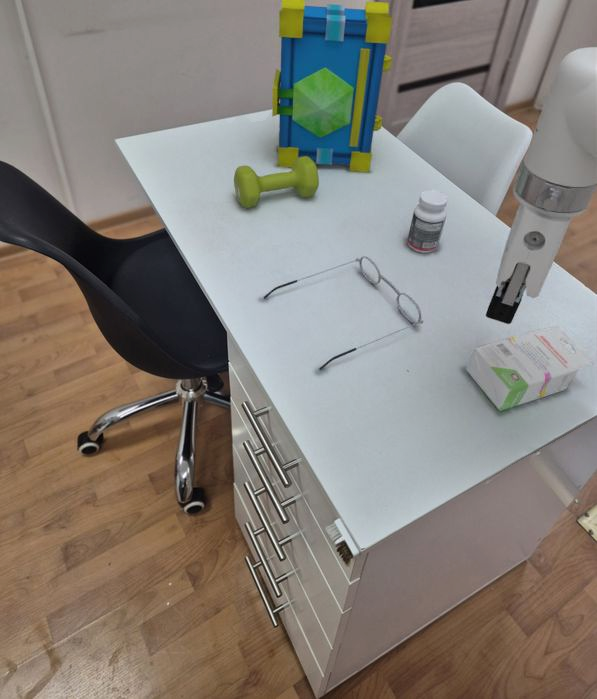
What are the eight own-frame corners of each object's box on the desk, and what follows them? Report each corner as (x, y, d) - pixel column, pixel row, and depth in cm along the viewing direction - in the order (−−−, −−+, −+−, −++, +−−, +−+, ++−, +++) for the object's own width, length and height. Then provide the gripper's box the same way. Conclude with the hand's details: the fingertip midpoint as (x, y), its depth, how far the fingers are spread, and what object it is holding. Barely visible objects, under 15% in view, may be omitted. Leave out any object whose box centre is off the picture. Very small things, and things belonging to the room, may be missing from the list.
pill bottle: (413, 232, 104) (425, 185, 97) (442, 242, 102) (455, 194, 95) (402, 247, 100) (412, 199, 93) (430, 257, 99) (444, 209, 91)
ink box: (499, 413, 74) (582, 387, 79) (511, 390, 71) (598, 363, 75) (463, 368, 80) (543, 346, 84) (473, 345, 76) (556, 322, 81)
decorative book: (275, 141, 127) (278, -8, 106) (373, 148, 127) (396, 0, 106) (271, 172, 117) (272, 13, 96) (377, 178, 118) (403, 22, 96)
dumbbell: (243, 215, 105) (242, 181, 100) (231, 194, 110) (229, 161, 105) (321, 201, 110) (324, 168, 105) (305, 182, 115) (308, 149, 110)
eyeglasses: (423, 330, 85) (428, 311, 82) (320, 374, 78) (321, 355, 75) (358, 266, 96) (361, 248, 93) (263, 300, 89) (262, 281, 86)
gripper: (586, 232, 50) (518, 366, 63) (598, 164, 60) (537, 292, 73) (504, 210, 52) (455, 344, 65) (528, 147, 62) (481, 275, 75)
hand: (498, 316), depth 69 cm, fingers closed
